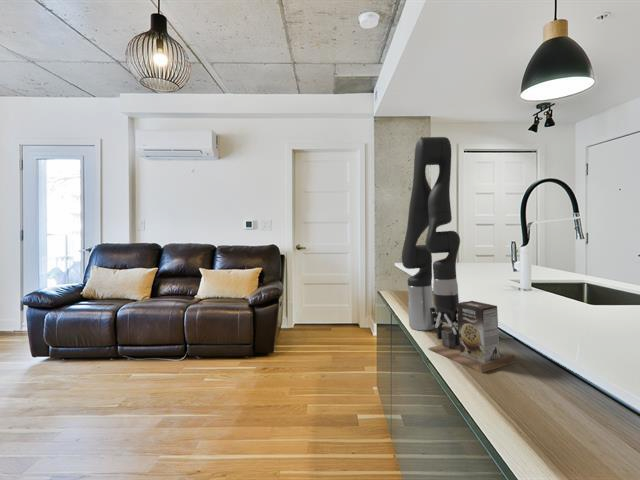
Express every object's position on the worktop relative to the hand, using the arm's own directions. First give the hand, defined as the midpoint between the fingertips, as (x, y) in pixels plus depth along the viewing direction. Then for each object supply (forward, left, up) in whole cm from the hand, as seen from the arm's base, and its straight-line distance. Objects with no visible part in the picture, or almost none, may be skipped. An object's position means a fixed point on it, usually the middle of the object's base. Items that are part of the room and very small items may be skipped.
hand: (449, 341), depth 108 cm
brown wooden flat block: (+8, 0, -2) cm, 8 cm away
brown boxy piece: (+12, 0, -2) cm, 12 cm away
